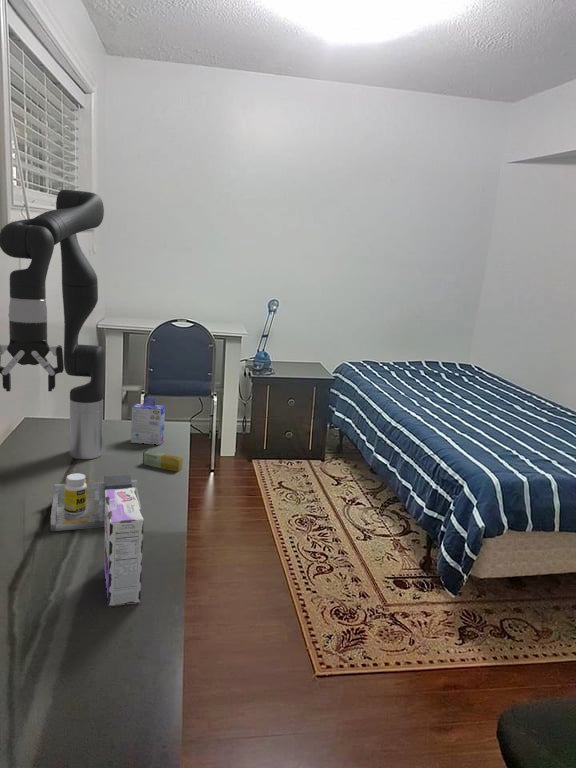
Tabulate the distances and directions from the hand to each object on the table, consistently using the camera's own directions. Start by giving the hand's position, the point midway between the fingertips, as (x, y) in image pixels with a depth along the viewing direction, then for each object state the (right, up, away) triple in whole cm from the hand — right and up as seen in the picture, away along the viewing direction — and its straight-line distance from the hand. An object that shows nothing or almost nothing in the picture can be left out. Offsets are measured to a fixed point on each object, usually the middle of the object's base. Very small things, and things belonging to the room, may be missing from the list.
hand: (29, 390), depth 123 cm
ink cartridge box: (+12, -18, +57) cm, 61 cm away
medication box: (+21, -23, +37) cm, 49 cm away
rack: (+13, -29, +5) cm, 32 cm away
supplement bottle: (+9, -28, +2) cm, 29 cm away
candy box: (+27, -36, -21) cm, 50 cm away
